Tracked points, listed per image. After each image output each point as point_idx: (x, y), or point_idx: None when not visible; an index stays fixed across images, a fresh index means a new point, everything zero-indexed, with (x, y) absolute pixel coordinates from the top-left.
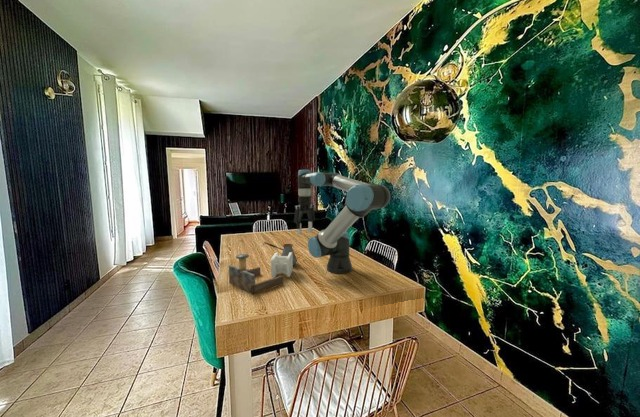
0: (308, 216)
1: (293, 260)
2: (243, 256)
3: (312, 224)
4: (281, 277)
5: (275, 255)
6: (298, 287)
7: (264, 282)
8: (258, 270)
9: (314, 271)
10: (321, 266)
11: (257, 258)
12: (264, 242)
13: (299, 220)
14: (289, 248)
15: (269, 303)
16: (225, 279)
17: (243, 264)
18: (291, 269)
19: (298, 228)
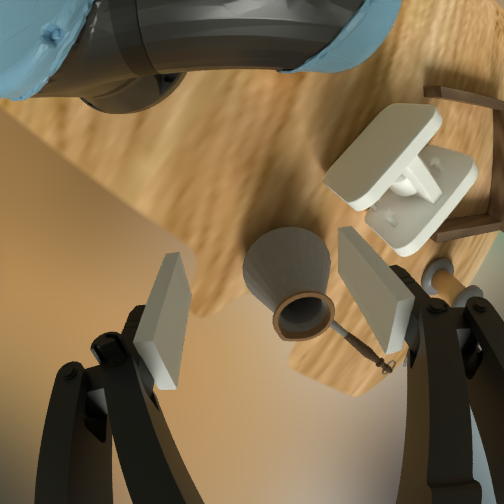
0: (177, 455)
1: (287, 234)
2: (474, 295)
3: (129, 325)
4: (444, 87)
5: (449, 201)
6: (402, 23)
7: (490, 97)
8: (438, 228)
9: (246, 98)
10: (169, 140)
11: (318, 375)
12: (391, 369)
13: (454, 330)
14: (308, 288)
15: (487, 31)
16: (483, 248)
17: (457, 281)
18: (364, 138)
19: (400, 267)
